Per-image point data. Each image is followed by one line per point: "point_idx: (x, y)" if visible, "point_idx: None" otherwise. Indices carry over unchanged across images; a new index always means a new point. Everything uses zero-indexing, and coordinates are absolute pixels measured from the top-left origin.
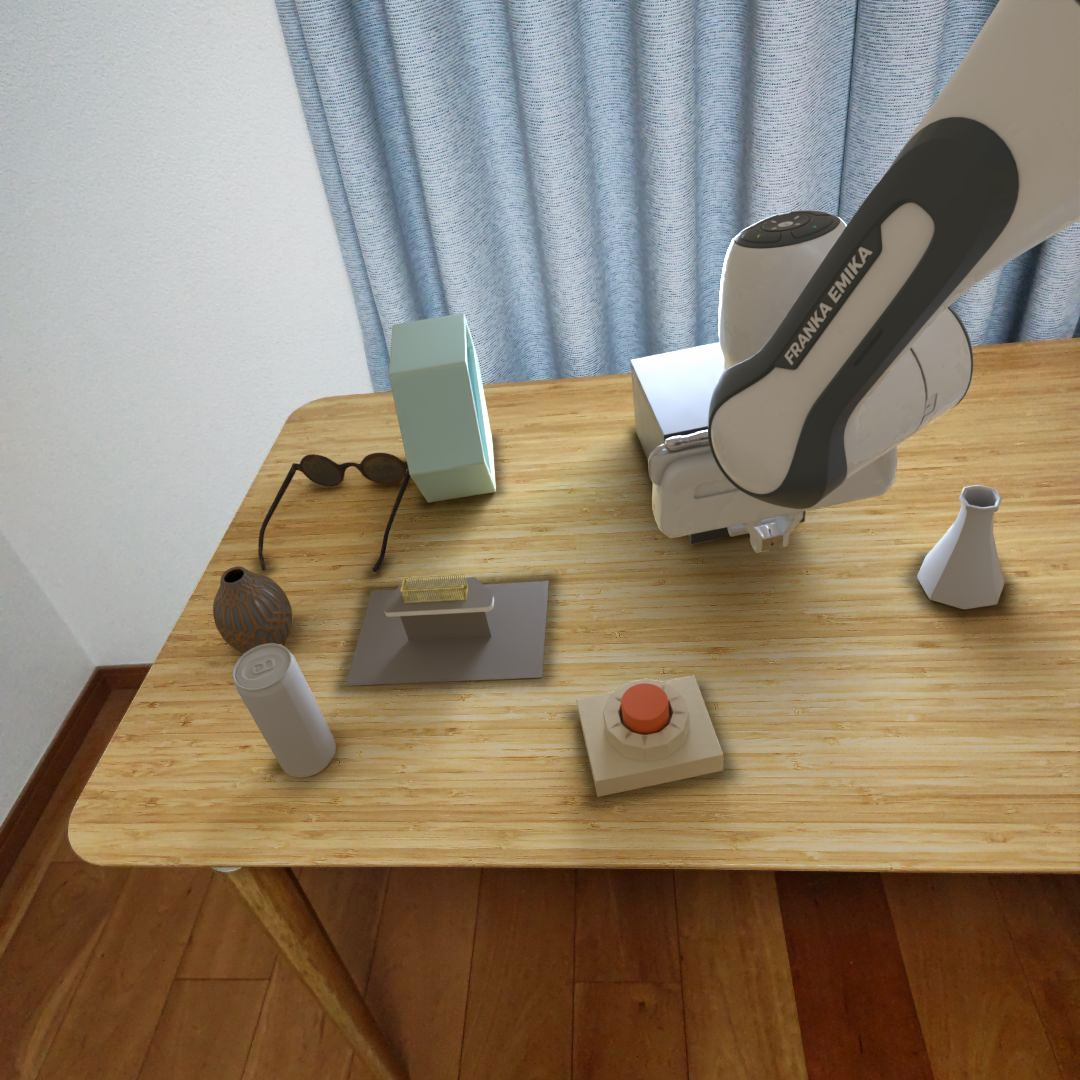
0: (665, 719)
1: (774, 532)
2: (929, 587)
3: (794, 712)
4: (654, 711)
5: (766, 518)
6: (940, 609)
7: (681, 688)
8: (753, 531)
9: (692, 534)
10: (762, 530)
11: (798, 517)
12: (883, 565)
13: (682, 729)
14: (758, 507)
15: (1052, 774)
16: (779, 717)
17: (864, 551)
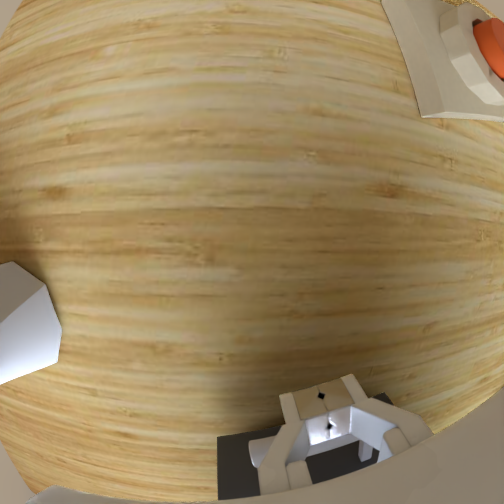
0: (479, 25)
1: (319, 423)
2: (41, 302)
3: (285, 51)
4: (499, 25)
5: (396, 457)
6: (36, 266)
7: (456, 93)
8: (394, 415)
9: (391, 404)
10: (344, 424)
11: (272, 469)
12: (105, 358)
13: (458, 7)
14: (449, 481)
15: (15, 24)
16: (309, 47)
17: (132, 385)
